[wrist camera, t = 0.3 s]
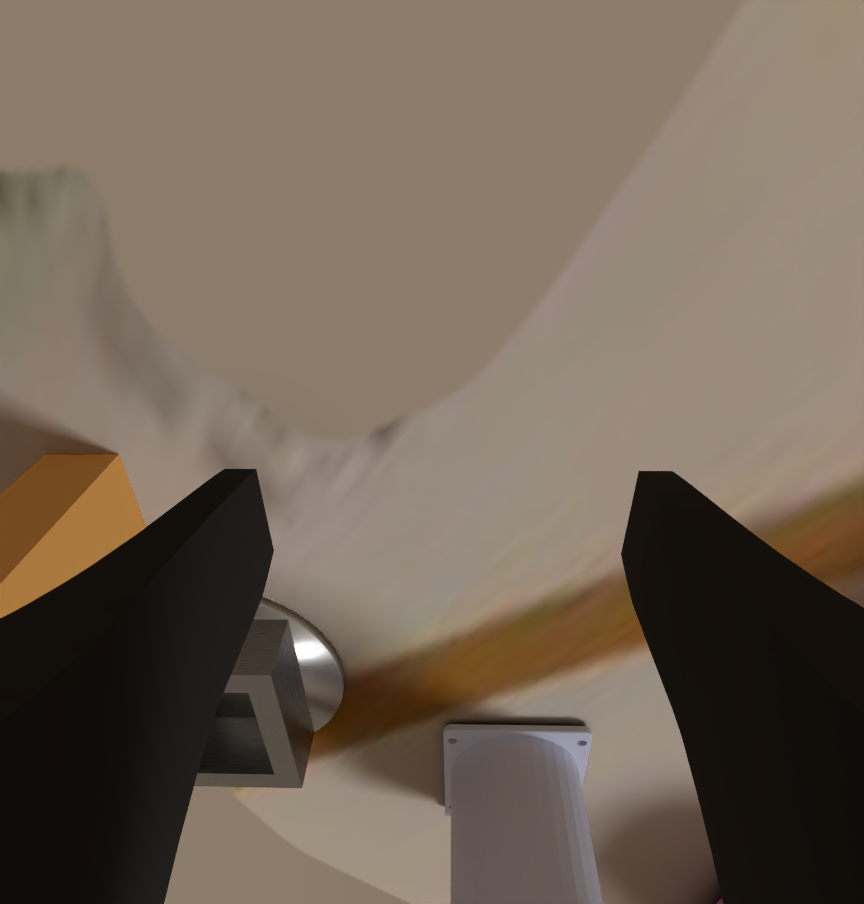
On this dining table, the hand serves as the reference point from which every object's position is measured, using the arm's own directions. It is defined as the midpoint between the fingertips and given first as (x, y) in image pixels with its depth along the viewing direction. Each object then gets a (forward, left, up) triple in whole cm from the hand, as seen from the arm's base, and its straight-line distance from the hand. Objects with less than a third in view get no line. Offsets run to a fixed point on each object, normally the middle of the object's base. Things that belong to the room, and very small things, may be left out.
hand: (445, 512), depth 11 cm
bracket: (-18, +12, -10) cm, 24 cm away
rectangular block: (-7, +15, -10) cm, 19 cm away
